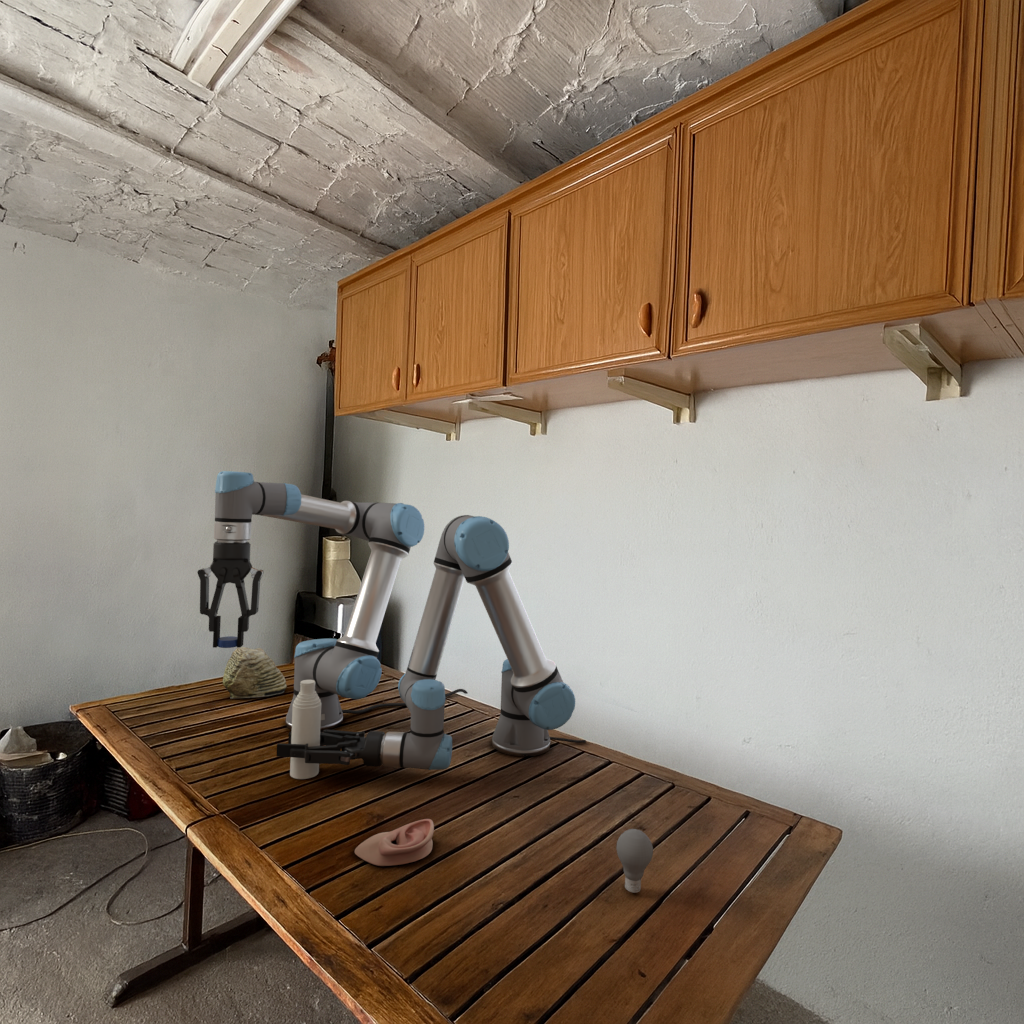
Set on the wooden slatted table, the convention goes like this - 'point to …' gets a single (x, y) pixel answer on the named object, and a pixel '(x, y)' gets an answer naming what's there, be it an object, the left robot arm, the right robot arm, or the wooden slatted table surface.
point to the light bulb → (634, 857)
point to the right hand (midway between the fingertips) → (283, 743)
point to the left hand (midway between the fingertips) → (228, 645)
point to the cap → (227, 642)
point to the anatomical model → (398, 844)
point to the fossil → (252, 674)
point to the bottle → (305, 728)
